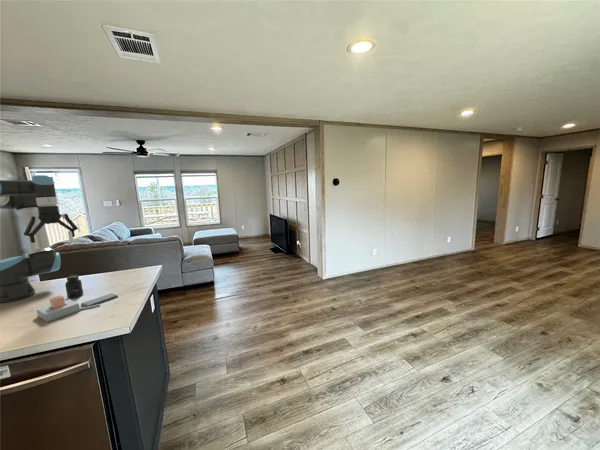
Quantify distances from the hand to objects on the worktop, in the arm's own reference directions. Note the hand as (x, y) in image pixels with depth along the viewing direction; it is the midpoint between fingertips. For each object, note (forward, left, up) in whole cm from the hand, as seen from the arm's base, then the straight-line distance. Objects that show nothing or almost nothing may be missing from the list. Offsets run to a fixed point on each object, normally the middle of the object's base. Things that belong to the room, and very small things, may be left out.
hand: (55, 245), depth 128 cm
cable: (+22, +2, -32) cm, 39 cm away
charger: (+15, -7, -31) cm, 35 cm away
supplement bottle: (-5, +6, -32) cm, 33 cm away
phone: (+17, +9, -32) cm, 37 cm away
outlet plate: (+15, -7, -32) cm, 36 cm away
